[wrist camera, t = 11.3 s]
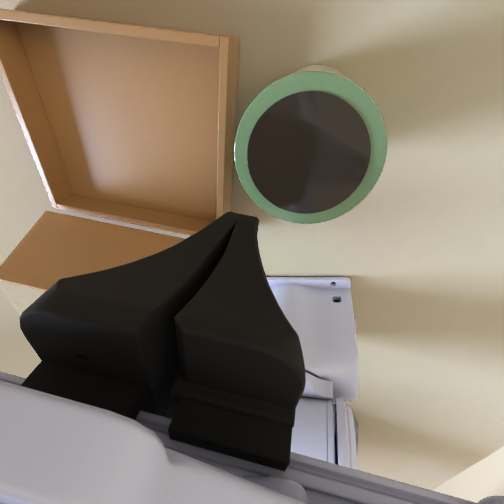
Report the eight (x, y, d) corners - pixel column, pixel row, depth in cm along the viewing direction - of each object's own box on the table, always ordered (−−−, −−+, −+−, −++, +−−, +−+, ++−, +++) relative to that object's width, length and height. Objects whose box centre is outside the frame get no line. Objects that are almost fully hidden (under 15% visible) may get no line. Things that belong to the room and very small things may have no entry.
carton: (230, 225, 24) (221, 242, 22) (73, 195, 25) (52, 208, 24) (240, 37, 16) (229, 37, 14) (11, 9, 18) (-28, 5, 16)
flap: (218, 245, 21) (218, 248, 22) (45, 210, 23) (48, 213, 23) (190, 324, 18) (191, 326, 18) (-10, 276, 20) (-5, 279, 20)
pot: (362, 49, 15) (397, 53, 8) (357, 153, 18) (380, 221, 11) (262, 70, 17) (218, 88, 10) (274, 162, 20) (247, 227, 13)
